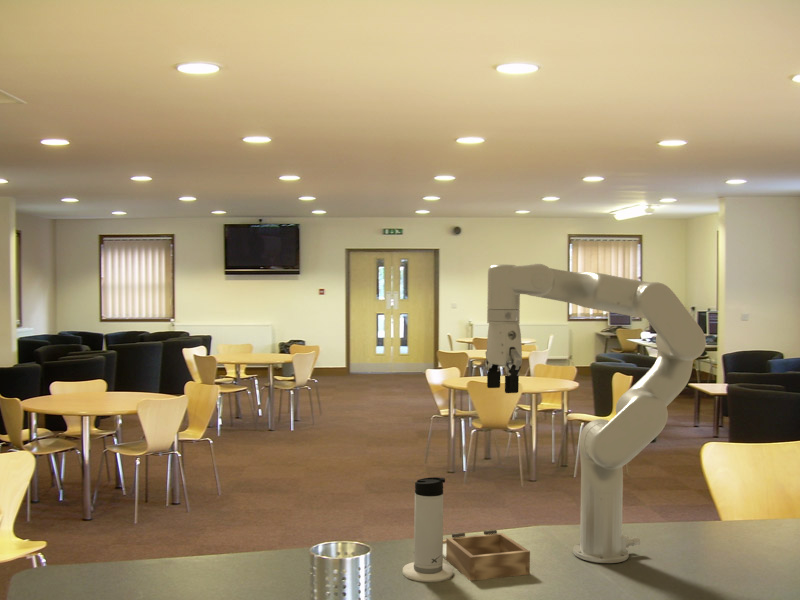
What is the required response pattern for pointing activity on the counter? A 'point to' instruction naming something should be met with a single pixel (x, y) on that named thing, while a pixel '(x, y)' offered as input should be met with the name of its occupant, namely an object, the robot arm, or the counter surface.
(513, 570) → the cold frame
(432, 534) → the travel mug
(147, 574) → the counter surface
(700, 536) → the counter surface
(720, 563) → the counter surface
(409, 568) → the saucer
